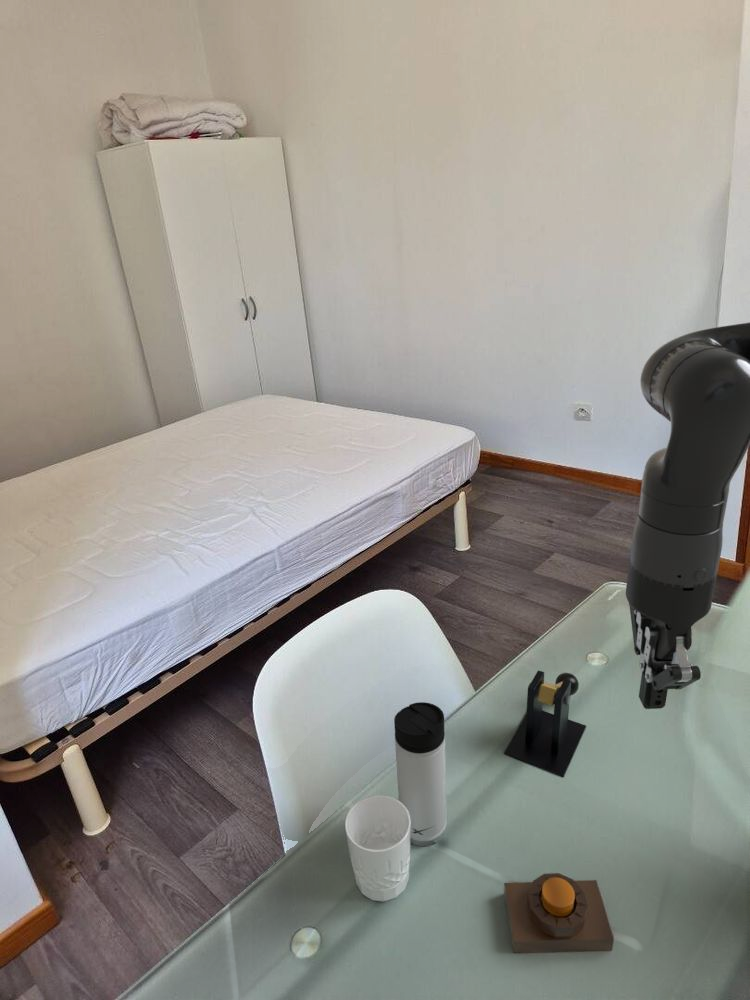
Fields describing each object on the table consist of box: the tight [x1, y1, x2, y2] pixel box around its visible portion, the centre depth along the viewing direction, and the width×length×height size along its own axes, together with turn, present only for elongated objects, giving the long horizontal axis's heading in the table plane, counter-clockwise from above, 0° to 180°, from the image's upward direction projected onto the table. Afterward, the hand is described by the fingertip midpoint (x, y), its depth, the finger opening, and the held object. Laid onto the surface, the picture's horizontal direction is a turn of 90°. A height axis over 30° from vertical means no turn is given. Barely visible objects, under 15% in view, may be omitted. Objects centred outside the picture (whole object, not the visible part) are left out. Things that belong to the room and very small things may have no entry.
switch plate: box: [503, 872, 615, 954], centre depth 79 cm, size 11×7×4 cm, turn 89°
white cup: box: [344, 794, 411, 903], centre depth 84 cm, size 8×8×10 cm
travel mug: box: [393, 701, 448, 847], centre depth 88 cm, size 6×7×20 cm
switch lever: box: [538, 672, 580, 707], centre depth 105 cm, size 14×4×4 cm
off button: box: [541, 878, 575, 917], centre depth 78 cm, size 4×4×2 cm
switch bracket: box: [503, 670, 587, 778], centre depth 102 cm, size 11×9×12 cm
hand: (651, 703), depth 71 cm, fingers closed
